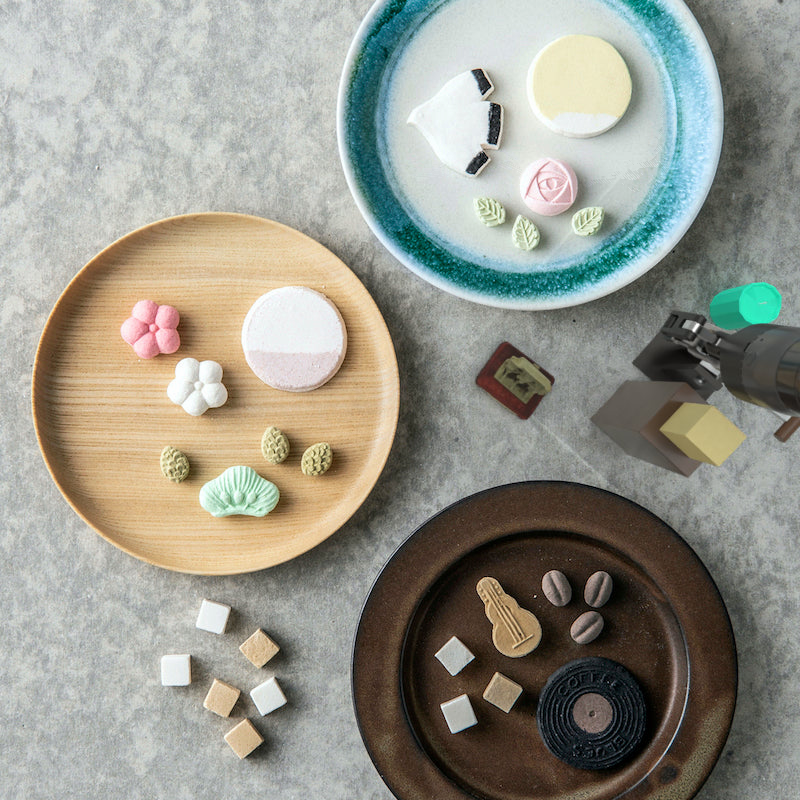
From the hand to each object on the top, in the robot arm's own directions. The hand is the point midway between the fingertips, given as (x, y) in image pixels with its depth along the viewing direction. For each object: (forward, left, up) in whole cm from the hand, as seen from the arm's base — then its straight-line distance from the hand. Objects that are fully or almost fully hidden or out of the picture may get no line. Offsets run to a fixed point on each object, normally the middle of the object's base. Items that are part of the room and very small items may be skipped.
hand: (700, 350), depth 78 cm
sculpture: (+15, -7, -30) cm, 34 cm away
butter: (+5, +8, -5) cm, 11 cm away
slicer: (-6, +7, -29) cm, 31 cm away
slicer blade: (-7, +12, -16) cm, 21 cm away
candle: (-17, +4, -30) cm, 34 cm away
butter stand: (+5, +8, -29) cm, 31 cm away
